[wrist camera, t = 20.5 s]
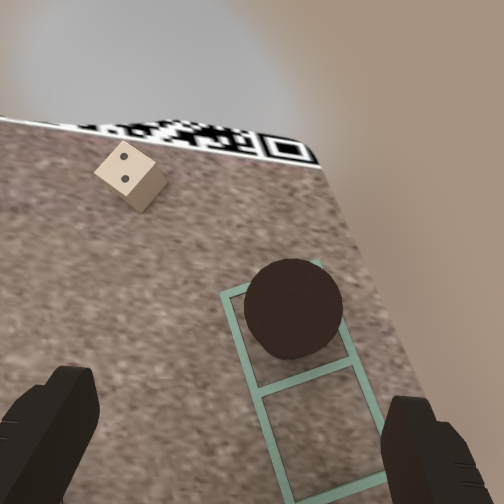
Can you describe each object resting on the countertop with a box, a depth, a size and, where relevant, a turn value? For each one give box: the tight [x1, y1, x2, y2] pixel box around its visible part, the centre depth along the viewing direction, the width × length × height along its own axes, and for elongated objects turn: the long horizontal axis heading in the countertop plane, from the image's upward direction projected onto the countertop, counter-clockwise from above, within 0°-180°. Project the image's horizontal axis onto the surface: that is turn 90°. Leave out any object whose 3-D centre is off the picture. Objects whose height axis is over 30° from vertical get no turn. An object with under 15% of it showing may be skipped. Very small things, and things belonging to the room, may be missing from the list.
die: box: [94, 141, 168, 213], centre depth 41 cm, size 4×5×5 cm
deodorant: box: [244, 259, 343, 359], centre depth 30 cm, size 6×6×15 cm
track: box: [219, 259, 387, 504], centre depth 35 cm, size 30×11×1 cm, turn 18°
